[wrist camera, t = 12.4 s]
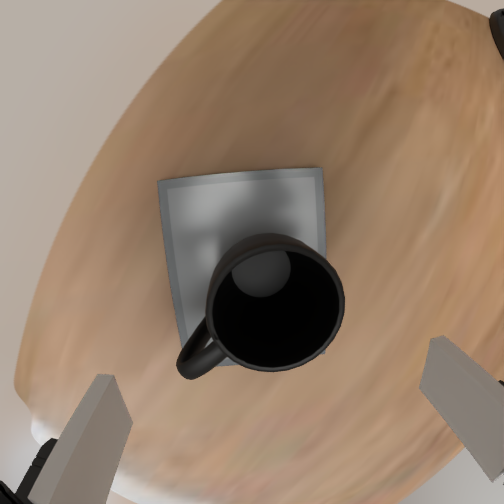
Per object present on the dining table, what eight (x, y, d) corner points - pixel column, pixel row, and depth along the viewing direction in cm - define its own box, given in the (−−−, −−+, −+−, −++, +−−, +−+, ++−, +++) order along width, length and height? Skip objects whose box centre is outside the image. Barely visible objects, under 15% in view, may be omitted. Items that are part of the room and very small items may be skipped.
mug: (161, 285, 26) (130, 336, 16) (271, 202, 25) (296, 211, 15) (219, 350, 27) (217, 418, 18) (324, 276, 26) (368, 320, 17)
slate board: (160, 181, 25) (157, 180, 24) (318, 168, 26) (322, 167, 24) (187, 361, 29) (186, 368, 28) (321, 347, 30) (325, 353, 28)
